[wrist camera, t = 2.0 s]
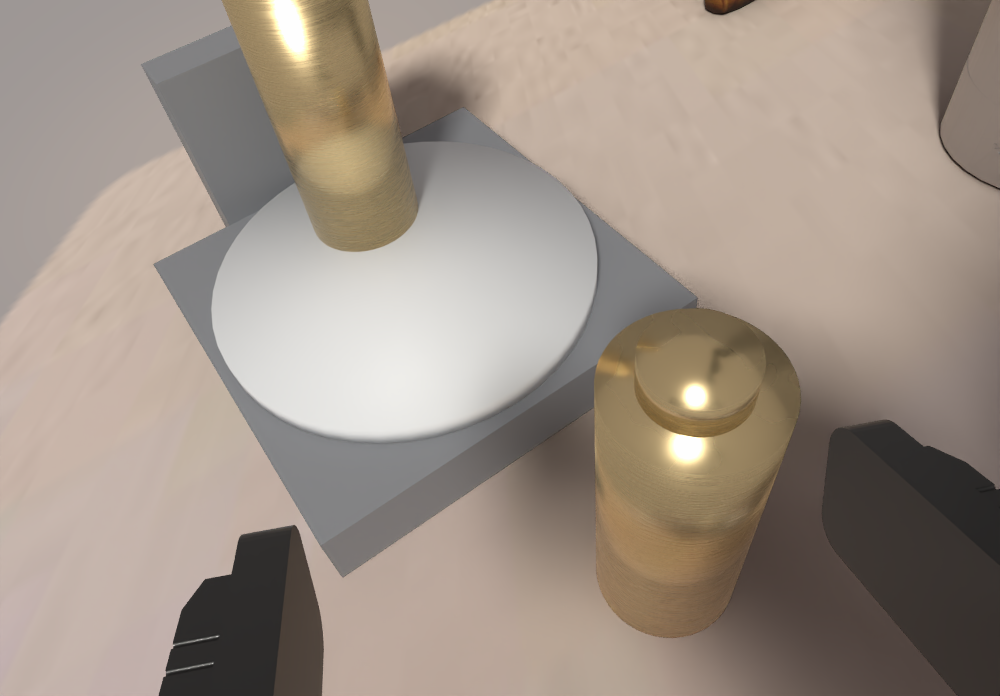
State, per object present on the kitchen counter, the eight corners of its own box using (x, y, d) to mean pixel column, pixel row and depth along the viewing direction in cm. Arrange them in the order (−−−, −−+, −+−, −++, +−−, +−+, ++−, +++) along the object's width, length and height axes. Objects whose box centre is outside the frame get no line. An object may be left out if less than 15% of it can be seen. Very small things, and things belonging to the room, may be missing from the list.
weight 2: (629, 487, 31) (644, 255, 21) (753, 541, 29) (838, 317, 19) (573, 596, 29) (557, 397, 18) (704, 664, 27) (770, 484, 16)
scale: (446, 130, 46) (410, -59, 38) (691, 341, 35) (720, 142, 26) (162, 275, 41) (45, 96, 32) (342, 577, 30) (236, 427, 21)
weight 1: (354, 167, 39) (263, -120, 28) (438, 194, 37) (374, -103, 26) (291, 232, 36) (166, -56, 26) (377, 265, 34) (280, -31, 24)
